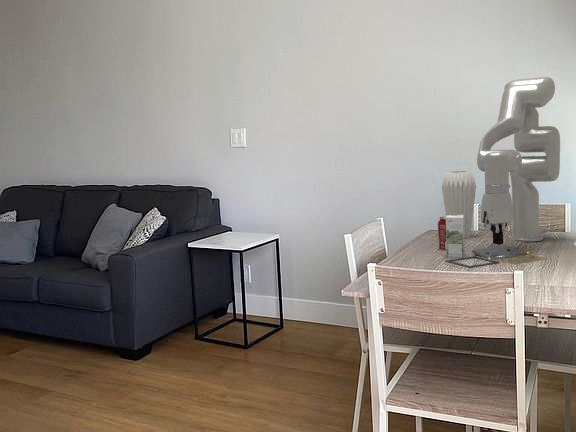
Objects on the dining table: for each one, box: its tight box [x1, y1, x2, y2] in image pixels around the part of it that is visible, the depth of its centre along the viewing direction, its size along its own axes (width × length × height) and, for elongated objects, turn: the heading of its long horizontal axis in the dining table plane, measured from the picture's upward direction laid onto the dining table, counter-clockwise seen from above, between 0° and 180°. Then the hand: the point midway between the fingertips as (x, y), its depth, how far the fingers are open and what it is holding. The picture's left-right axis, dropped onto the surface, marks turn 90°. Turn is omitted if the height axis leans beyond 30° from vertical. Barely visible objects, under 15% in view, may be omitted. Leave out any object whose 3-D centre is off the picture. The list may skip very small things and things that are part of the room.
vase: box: [441, 170, 477, 239], centre depth 244 cm, size 13×13×26 cm
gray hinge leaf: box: [471, 245, 527, 261], centre depth 204 cm, size 14×10×1 cm
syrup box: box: [445, 215, 466, 258], centre depth 206 cm, size 6×6×14 cm
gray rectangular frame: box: [445, 255, 501, 272], centre depth 194 cm, size 12×12×1 cm
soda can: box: [437, 216, 447, 251], centre depth 219 cm, size 7×7×12 cm
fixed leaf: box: [485, 250, 549, 266], centre depth 196 cm, size 18×11×2 cm, turn 113°
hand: (498, 243), depth 205 cm, fingers closed
